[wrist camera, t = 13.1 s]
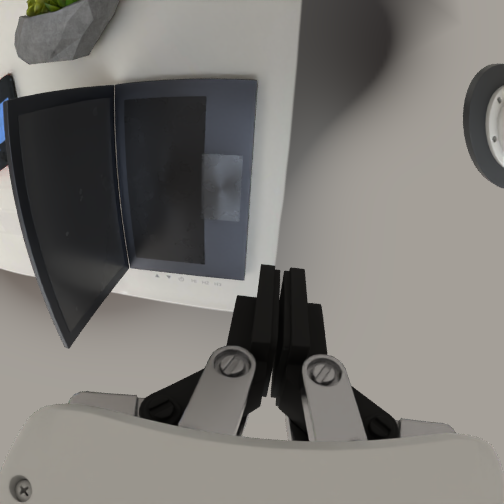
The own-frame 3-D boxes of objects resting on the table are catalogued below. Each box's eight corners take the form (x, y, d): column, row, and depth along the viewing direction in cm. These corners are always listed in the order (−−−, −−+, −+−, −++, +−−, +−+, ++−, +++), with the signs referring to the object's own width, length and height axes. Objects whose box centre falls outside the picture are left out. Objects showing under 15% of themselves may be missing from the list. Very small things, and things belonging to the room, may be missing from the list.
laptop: (257, 80, 30) (257, 80, 29) (245, 274, 43) (243, 280, 42) (120, 84, 31) (114, 84, 29) (134, 262, 44) (129, 268, 42)
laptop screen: (7, 99, 15) (2, 101, 15) (69, 349, 28) (64, 347, 28) (115, 84, 29) (109, 85, 29) (130, 268, 42) (125, 267, 43)
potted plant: (20, 55, 24) (36, -41, 14) (102, 46, 32) (126, -46, 21) (5, 81, 19) (22, -47, 9) (112, 68, 26) (144, -53, 16)
